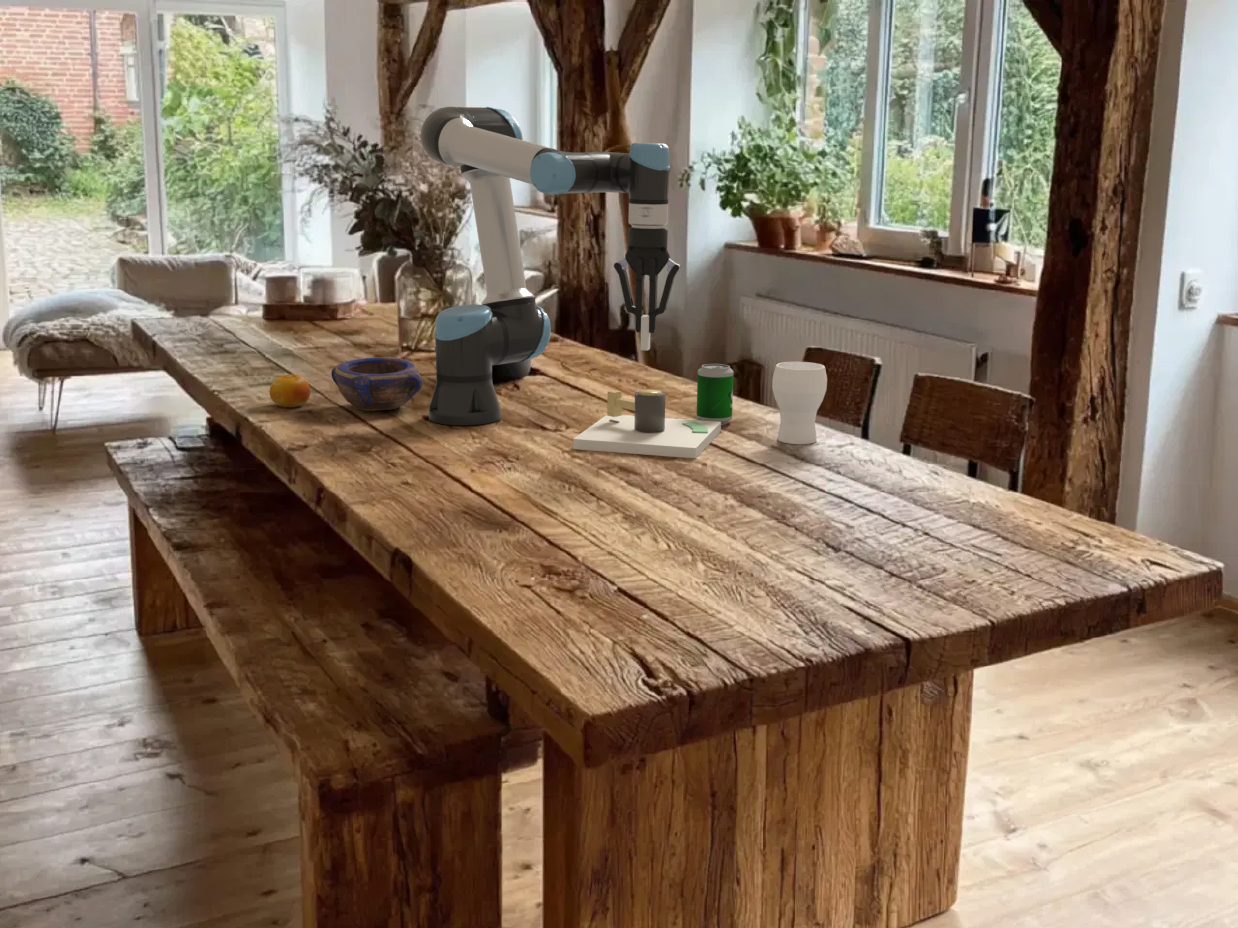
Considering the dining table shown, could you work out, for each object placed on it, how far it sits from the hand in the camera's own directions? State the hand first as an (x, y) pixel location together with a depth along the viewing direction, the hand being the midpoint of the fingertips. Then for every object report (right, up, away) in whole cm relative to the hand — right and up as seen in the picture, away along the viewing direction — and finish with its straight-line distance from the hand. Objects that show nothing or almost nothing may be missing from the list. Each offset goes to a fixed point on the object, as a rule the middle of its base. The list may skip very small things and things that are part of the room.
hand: (645, 349), depth 250 cm
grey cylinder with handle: (-2, -15, +6) cm, 16 cm away
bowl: (-58, -10, +31) cm, 66 cm away
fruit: (-77, -10, +32) cm, 84 cm away
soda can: (+15, -14, +20) cm, 29 cm away
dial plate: (+1, -18, +4) cm, 18 cm away
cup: (+30, -18, +5) cm, 36 cm away
